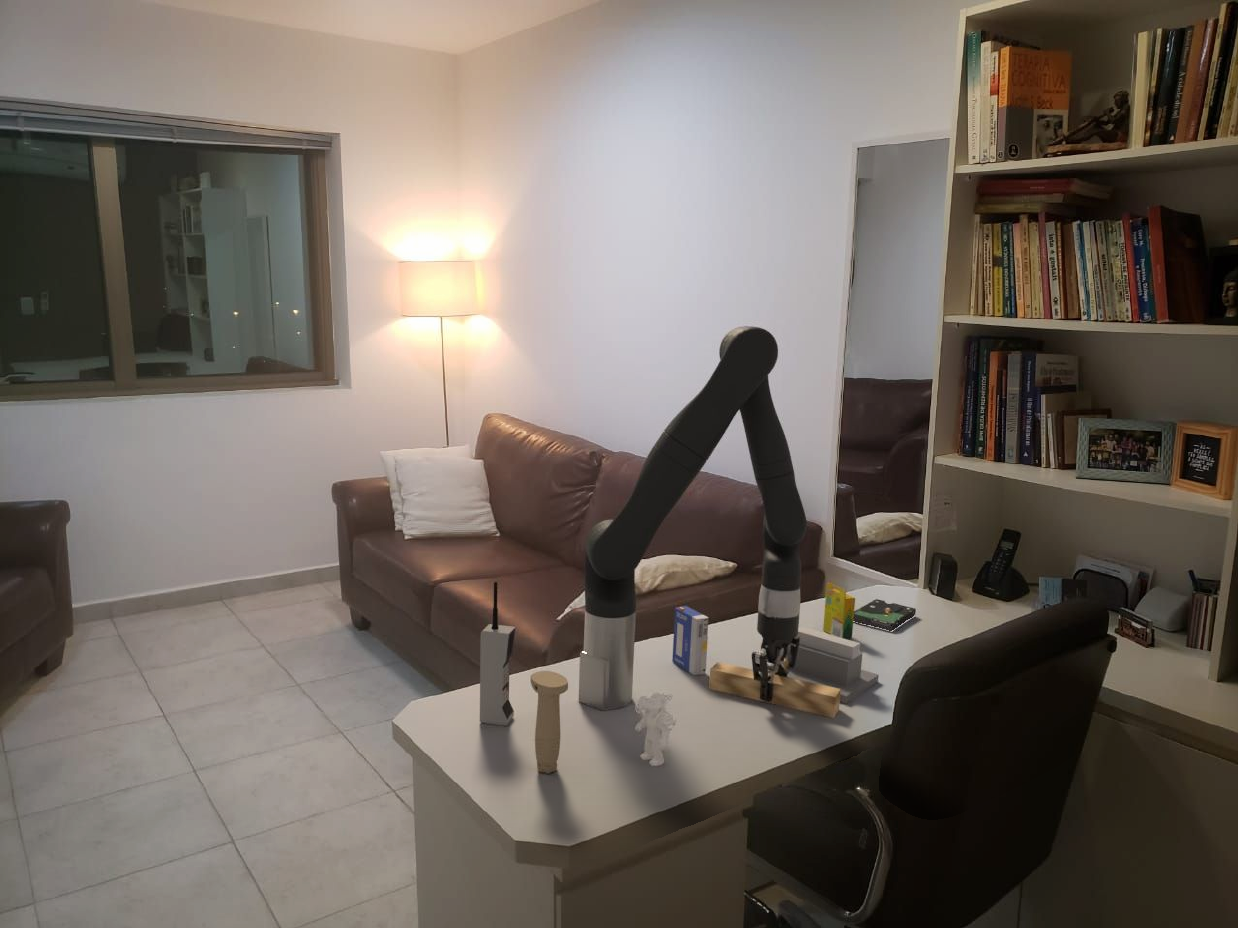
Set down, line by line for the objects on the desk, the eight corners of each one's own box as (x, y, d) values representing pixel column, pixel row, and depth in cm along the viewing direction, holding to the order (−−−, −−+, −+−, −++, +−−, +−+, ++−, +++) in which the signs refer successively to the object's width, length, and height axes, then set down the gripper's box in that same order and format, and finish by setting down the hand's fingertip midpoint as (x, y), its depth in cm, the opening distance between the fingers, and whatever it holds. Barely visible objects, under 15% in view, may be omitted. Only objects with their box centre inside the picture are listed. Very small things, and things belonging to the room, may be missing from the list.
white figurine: (678, 768, 146) (682, 697, 144) (658, 774, 144) (662, 702, 142) (646, 744, 154) (649, 676, 151) (626, 750, 151) (629, 681, 149)
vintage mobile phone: (507, 726, 158) (509, 586, 154) (479, 723, 159) (481, 583, 155) (514, 717, 162) (516, 580, 157) (486, 713, 163) (488, 577, 158)
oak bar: (839, 709, 170) (840, 688, 169) (833, 717, 166) (835, 696, 166) (716, 681, 180) (717, 661, 180) (709, 688, 177) (710, 668, 176)
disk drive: (874, 609, 229) (849, 623, 217) (875, 598, 228) (850, 612, 217) (915, 619, 223) (892, 634, 211) (916, 608, 222) (893, 622, 211)
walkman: (672, 661, 189) (674, 605, 187) (683, 659, 191) (686, 604, 188) (694, 675, 182) (697, 618, 180) (706, 673, 184) (709, 615, 182)
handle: (547, 756, 148) (550, 668, 146) (571, 773, 144) (574, 682, 141) (522, 765, 145) (524, 675, 143) (545, 782, 141) (548, 689, 138)
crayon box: (852, 640, 205) (856, 590, 203) (841, 641, 204) (845, 591, 202) (833, 629, 212) (837, 580, 210) (822, 630, 211) (826, 581, 209)
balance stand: (845, 703, 172) (849, 657, 171) (762, 675, 184) (765, 632, 182) (878, 681, 183) (882, 638, 181) (797, 656, 194) (800, 615, 193)
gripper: (780, 595, 178) (774, 679, 181) (740, 613, 167) (735, 701, 170) (815, 604, 173) (809, 690, 176) (777, 623, 162) (770, 714, 165)
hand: (772, 695), depth 173 cm, fingers closed on oak bar, 4 cm apart
